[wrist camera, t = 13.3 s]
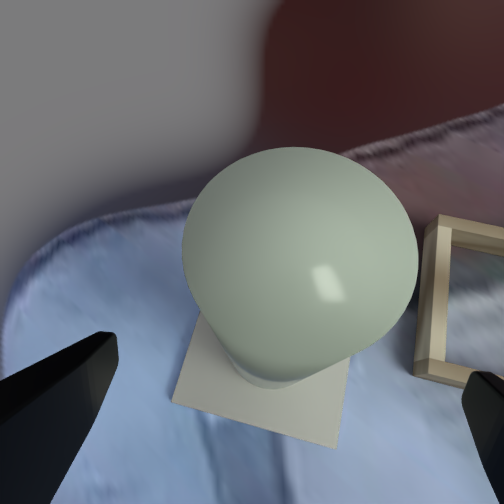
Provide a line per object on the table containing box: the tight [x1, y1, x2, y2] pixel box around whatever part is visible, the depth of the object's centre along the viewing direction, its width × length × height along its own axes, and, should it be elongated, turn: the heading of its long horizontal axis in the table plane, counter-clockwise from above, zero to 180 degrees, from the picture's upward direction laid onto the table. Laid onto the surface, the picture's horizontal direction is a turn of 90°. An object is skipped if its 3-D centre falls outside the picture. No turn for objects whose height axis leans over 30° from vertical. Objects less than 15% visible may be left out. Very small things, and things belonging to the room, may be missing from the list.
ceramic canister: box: [182, 147, 418, 389], centre depth 14 cm, size 5×5×14 cm
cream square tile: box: [171, 310, 350, 449], centre depth 21 cm, size 9×9×1 cm
